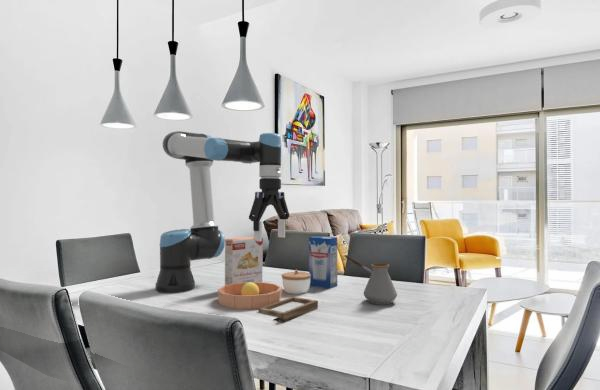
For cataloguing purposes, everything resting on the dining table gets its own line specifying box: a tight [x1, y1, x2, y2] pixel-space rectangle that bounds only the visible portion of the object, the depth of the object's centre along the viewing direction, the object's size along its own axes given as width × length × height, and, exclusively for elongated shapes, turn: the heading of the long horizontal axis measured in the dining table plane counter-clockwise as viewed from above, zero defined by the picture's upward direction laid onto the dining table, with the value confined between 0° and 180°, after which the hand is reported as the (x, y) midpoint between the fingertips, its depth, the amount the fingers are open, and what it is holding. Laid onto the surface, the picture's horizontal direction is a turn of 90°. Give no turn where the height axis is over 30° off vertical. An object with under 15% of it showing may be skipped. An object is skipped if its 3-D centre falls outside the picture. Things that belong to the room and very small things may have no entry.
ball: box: [241, 282, 259, 295], centre depth 138 cm, size 6×6×6 cm
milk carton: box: [308, 235, 338, 290], centre depth 167 cm, size 10×6×20 cm, turn 58°
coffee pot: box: [342, 254, 398, 306], centre depth 144 cm, size 21×12×15 cm, turn 47°
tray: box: [257, 296, 319, 323], centre depth 128 cm, size 10×18×2 cm, turn 145°
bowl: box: [217, 281, 283, 310], centre depth 138 cm, size 21×21×6 cm
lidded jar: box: [281, 269, 311, 295], centre depth 151 cm, size 11×11×9 cm
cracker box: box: [224, 236, 264, 286], centre depth 156 cm, size 14×6×21 cm, turn 131°
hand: (270, 239), depth 141 cm, fingers open, 13 cm apart
